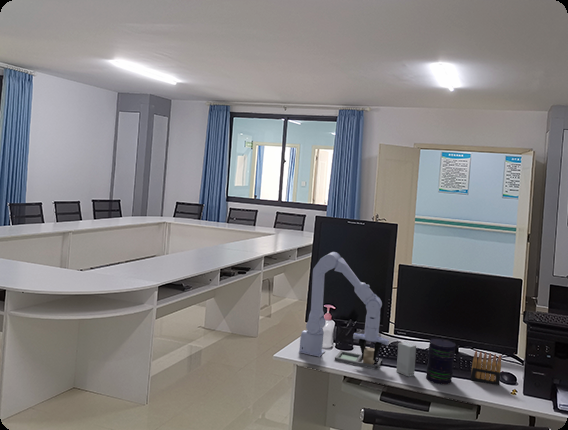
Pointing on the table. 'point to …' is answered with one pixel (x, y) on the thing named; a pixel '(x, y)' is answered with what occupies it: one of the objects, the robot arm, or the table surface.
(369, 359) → the birch plug
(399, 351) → the skincare box
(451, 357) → the storage jar
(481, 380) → the ammunition clip
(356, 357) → the slot holder
